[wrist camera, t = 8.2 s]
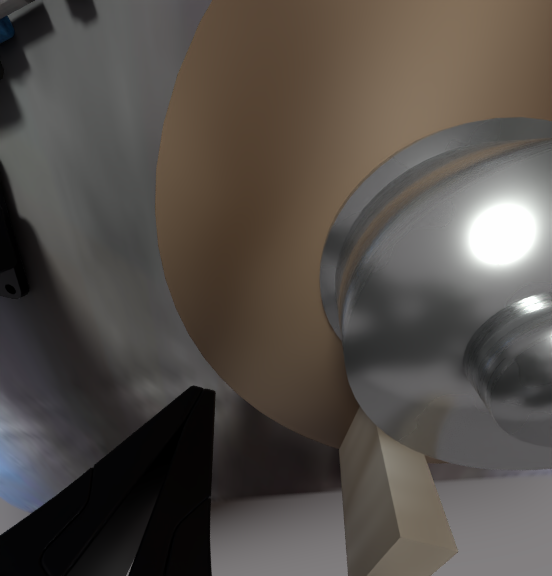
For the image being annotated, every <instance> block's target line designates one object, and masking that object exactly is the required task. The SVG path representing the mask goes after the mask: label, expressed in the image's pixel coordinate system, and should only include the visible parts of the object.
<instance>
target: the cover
mask: <svg viewBox="0 0 552 576" xmlns="http://www.w3.org/2000/svg"><path fill="white" fill-rule="evenodd" d="M319 277H320V292H321V299H322V303H323V307H324V311H325V313H326V316H327V318H328V320H329V323H330V324H331V326H332V328H333V329H334V331H335V333H336V334H337V336H338V337H339V338H340V339H341V341H342V346H343V354H344V362H345V368H346V373H347V377H348V381H349V384H350V387H351V389H352V392H353V394H354V397H355V398H356V400H357V402H358V403H359V405H360V406H361V408H362V410H363V411H364V412H365V413H366V415H367V416H368V417H369V418H370V419H371V420H372V422H373V423H374V424H375V425H377V426H378V427H379V428H380V429H381V430H382V431H383V432H385V433H386V434H387V435H389V436H390V437H392V438H393V439H395V440H396V441H398V442H399V443H401V444H403V445H405V446H407V447H408V448H410V449H412V450H414V451H416V452H419V453H422V454H424V455H427V456H429V457H432V458H435V459H438V460H442V461H445V462H449V463H453V464H458V465H463V466H468V467H475V468H483V469H492V470H541V469H552V121H548V120H542V119H533V118H524V117H513V118H494V119H488V120H482V121H476V122H470V123H465V124H460V125H457V126H453V127H450V128H447V129H443V130H440V131H437V132H435V133H432V134H430V135H428V136H425V137H423V138H421V139H419V140H416V141H414V142H413V143H411V144H409V145H407V146H406V147H404V148H402V149H401V150H399V151H397V152H395V153H394V154H393V155H391V156H390V157H389V158H387V159H386V160H384V161H383V162H382V163H380V164H379V165H378V166H377V167H375V168H374V169H373V170H372V171H371V172H370V173H369V174H368V175H367V176H366V177H365V178H364V179H363V180H362V181H361V182H360V183H359V184H358V185H357V186H356V187H355V189H354V190H353V191H352V192H351V193H350V195H349V196H348V197H347V198H346V200H345V202H344V203H343V205H342V206H341V208H340V209H339V211H338V212H337V214H336V216H335V218H334V220H333V222H332V224H331V226H330V228H329V230H328V233H327V236H326V239H325V242H324V245H323V250H322V255H321V260H320V275H319Z"/></svg>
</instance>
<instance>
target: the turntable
mask: <svg viewBox="0 0 552 576" xmlns="http://www.w3.org/2000/svg"><path fill="white" fill-rule="evenodd" d="M513 117H524V118H533V119H542V120H548V121H552V0H212V2H211V4H210V6H209V7H208V9H207V11H206V13H205V14H204V16H203V18H202V20H201V21H200V23H199V26H198V28H197V30H196V33H195V35H194V37H193V40H192V42H191V44H190V47H189V49H188V52H187V54H186V56H185V59H184V61H183V63H182V66H181V68H180V70H179V73H178V75H177V79H176V82H175V86H174V89H173V93H172V96H171V100H170V103H169V107H168V110H167V114H166V117H165V121H164V124H163V130H162V137H161V143H160V149H159V156H158V162H157V168H156V197H155V214H156V225H157V236H158V247H159V251H160V256H161V260H162V265H163V269H164V274H165V279H166V282H167V284H168V287H169V290H170V293H171V296H172V299H173V301H174V304H175V307H176V309H177V311H178V314H179V316H180V318H181V320H182V322H183V324H184V326H185V328H186V330H187V332H188V334H189V335H190V337H191V338H192V340H193V341H194V343H195V345H196V346H197V348H198V349H199V351H200V352H201V354H202V355H203V357H204V358H205V359H206V361H207V362H208V363H209V364H210V365H211V367H212V368H213V369H214V370H215V371H216V373H217V374H218V375H219V376H220V377H221V378H222V379H223V380H224V381H225V382H226V383H227V384H228V385H229V386H230V387H231V388H232V389H233V390H234V391H235V392H236V393H237V394H238V395H239V396H240V397H242V398H243V399H244V400H246V401H247V402H248V403H249V404H251V405H252V406H253V407H255V408H256V409H257V410H258V411H260V412H261V413H263V414H264V415H266V416H268V417H269V418H271V419H272V420H274V421H276V422H277V423H279V424H280V425H282V426H284V427H286V428H288V429H290V430H292V431H294V432H296V433H298V434H300V435H302V436H304V437H307V438H309V439H312V440H315V441H317V442H320V443H322V444H325V445H327V446H331V447H334V448H337V449H339V456H340V470H341V484H342V497H343V510H344V525H345V539H346V553H347V566H348V576H431V575H432V574H433V573H434V572H436V571H437V570H438V569H439V568H440V567H441V566H442V565H444V564H445V563H446V562H447V561H448V560H450V559H451V558H452V557H453V556H454V555H455V554H456V553H458V549H457V547H456V544H455V541H454V538H453V535H452V532H451V529H450V527H449V524H448V521H447V518H446V515H445V512H444V510H443V507H442V504H441V501H440V498H439V495H438V493H437V490H436V487H435V484H434V481H433V478H432V476H431V473H430V470H429V467H428V464H427V463H449V462H445V461H442V460H438V459H435V458H432V457H429V456H427V455H424V454H422V453H419V452H416V451H414V450H412V449H410V448H408V447H407V446H405V445H403V444H401V443H399V442H398V441H396V440H395V439H393V438H392V437H390V436H389V435H387V434H386V433H385V432H383V431H382V430H381V429H380V428H379V427H378V426H377V425H375V424H374V423H373V422H372V420H371V419H370V418H369V417H368V416H367V415H366V413H365V412H364V411H363V410H362V408H361V406H360V405H359V403H358V402H357V400H356V398H355V397H354V394H353V392H352V389H351V387H350V384H349V381H348V377H347V373H346V368H345V362H344V354H343V346H342V341H341V339H340V338H339V337H338V336H337V334H336V333H335V331H334V329H333V328H332V326H331V324H330V323H329V320H328V318H327V316H326V313H325V311H324V307H323V303H322V299H321V292H320V277H319V275H320V260H321V255H322V250H323V245H324V242H325V239H326V236H327V233H328V230H329V228H330V226H331V224H332V222H333V220H334V218H335V216H336V214H337V212H338V211H339V209H340V208H341V206H342V205H343V203H344V202H345V200H346V198H347V197H348V196H349V195H350V193H351V192H352V191H353V190H354V189H355V187H356V186H357V185H358V184H359V183H360V182H361V181H362V180H363V179H364V178H365V177H366V176H367V175H368V174H369V173H370V172H371V171H372V170H373V169H374V168H375V167H377V166H378V165H379V164H380V163H382V162H383V161H384V160H386V159H387V158H389V157H390V156H391V155H393V154H394V153H395V152H397V151H399V150H401V149H402V148H404V147H406V146H407V145H409V144H411V143H413V142H414V141H416V140H419V139H421V138H423V137H425V136H428V135H430V134H432V133H435V132H437V131H440V130H443V129H447V128H450V127H453V126H457V125H460V124H465V123H470V122H476V121H482V120H488V119H494V118H513Z"/></svg>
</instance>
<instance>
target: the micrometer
mask: <svg viewBox="0 0 552 576" xmlns="http://www.w3.org/2000/svg"><path fill="white" fill-rule="evenodd" d="M33 1H35V0H0V43H2V42H4V41H6V40H8V39H10V38H12V37H13V36H14V34H15V31H14V28H13V26H12V24H11V22H10V20H9V18H8V16H7V15H9V14H11V13H12V12H14V11H16V10H18V9H20V8H22V7H24V6H25V5H27V4H29V3H31V2H33ZM3 76H4V69H3V66H2V63H1V61H0V80H1V79H2V78H3Z"/></svg>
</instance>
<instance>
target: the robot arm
mask: <svg viewBox="0 0 552 576" xmlns="http://www.w3.org/2000/svg"><path fill="white" fill-rule="evenodd" d="M28 293H29V285H28V282H27V278H26V275H25V271H24V268H23V264H22V261H21V257H20V253H19V250H18V246H17V243H16V239H15V236H14V232H13V228H12V225H11V221H10V218H9V214H8V211H7V207H6V204H5V200H4V196H3V193H2V189H1V186H0V296H4V297H8V298H12V299H18V298H20V297H22V296H24V295H26V294H28ZM215 394H216V393H215V391H214V390H210V389H203V388H202V387H198V386H191V387H189V388H188V389H187V390H186V391H184V392H183V393H182V394H181V395H180V396H178V397H177V398H176V399H175V400H173V401H172V402H171V403H170V404H169V405H167V406H166V407H165V408H164V409H162V410H161V411H160V412H159V413H158V414H156V415H155V416H154V417H153V418H151V419H150V420H149V421H148V422H147V423H145V424H144V425H143V426H142V427H140V428H139V429H138V430H137V431H135V432H134V433H133V434H132V435H131V436H129V437H128V438H127V439H126V440H124V441H123V442H122V443H121V444H120V445H118V446H117V447H116V448H115V449H113V450H112V451H111V452H110V453H109V454H107V455H106V456H105V457H104V458H102V459H101V460H100V461H99V462H98V463H96V464H95V465H94V467H93V468H90V469H89V470H88V471H86V472H85V473H84V474H83V475H81V476H80V477H79V478H78V479H77V480H75V481H74V482H73V483H71V484H70V485H69V486H68V487H66V488H65V489H64V490H63V491H61V492H60V493H59V494H57V495H56V496H55V497H53V498H52V499H51V500H49V501H48V502H47V503H45V504H44V505H42V506H41V507H40V508H38V509H37V510H35V511H34V512H33V513H31V514H30V515H29V516H27V517H26V518H24V519H23V520H21V521H20V522H19V523H17V524H16V525H14V526H13V527H12V528H10V529H9V530H7V531H6V532H4V533H3V534H1V535H0V576H126V574H127V572H128V570H129V568H130V566H131V564H132V562H133V560H134V562H133V564H132V567H131V570H130V572H129V575H128V576H212V572H211V555H210V554H211V553H210V507H211V483H212V461H213V439H214V417H215ZM134 558H135V559H134Z"/></svg>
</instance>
